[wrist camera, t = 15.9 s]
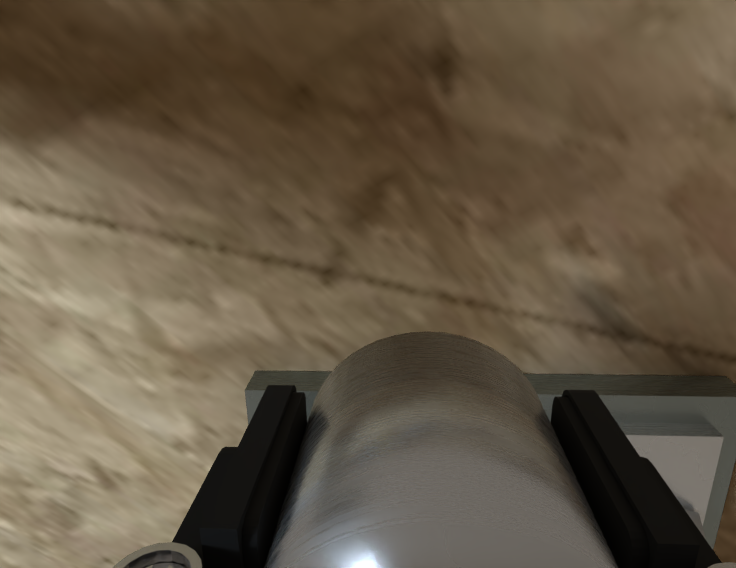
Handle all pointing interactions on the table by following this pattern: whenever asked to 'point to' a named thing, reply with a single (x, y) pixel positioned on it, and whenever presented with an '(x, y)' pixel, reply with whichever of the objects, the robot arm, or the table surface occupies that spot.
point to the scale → (627, 425)
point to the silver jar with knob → (433, 468)
